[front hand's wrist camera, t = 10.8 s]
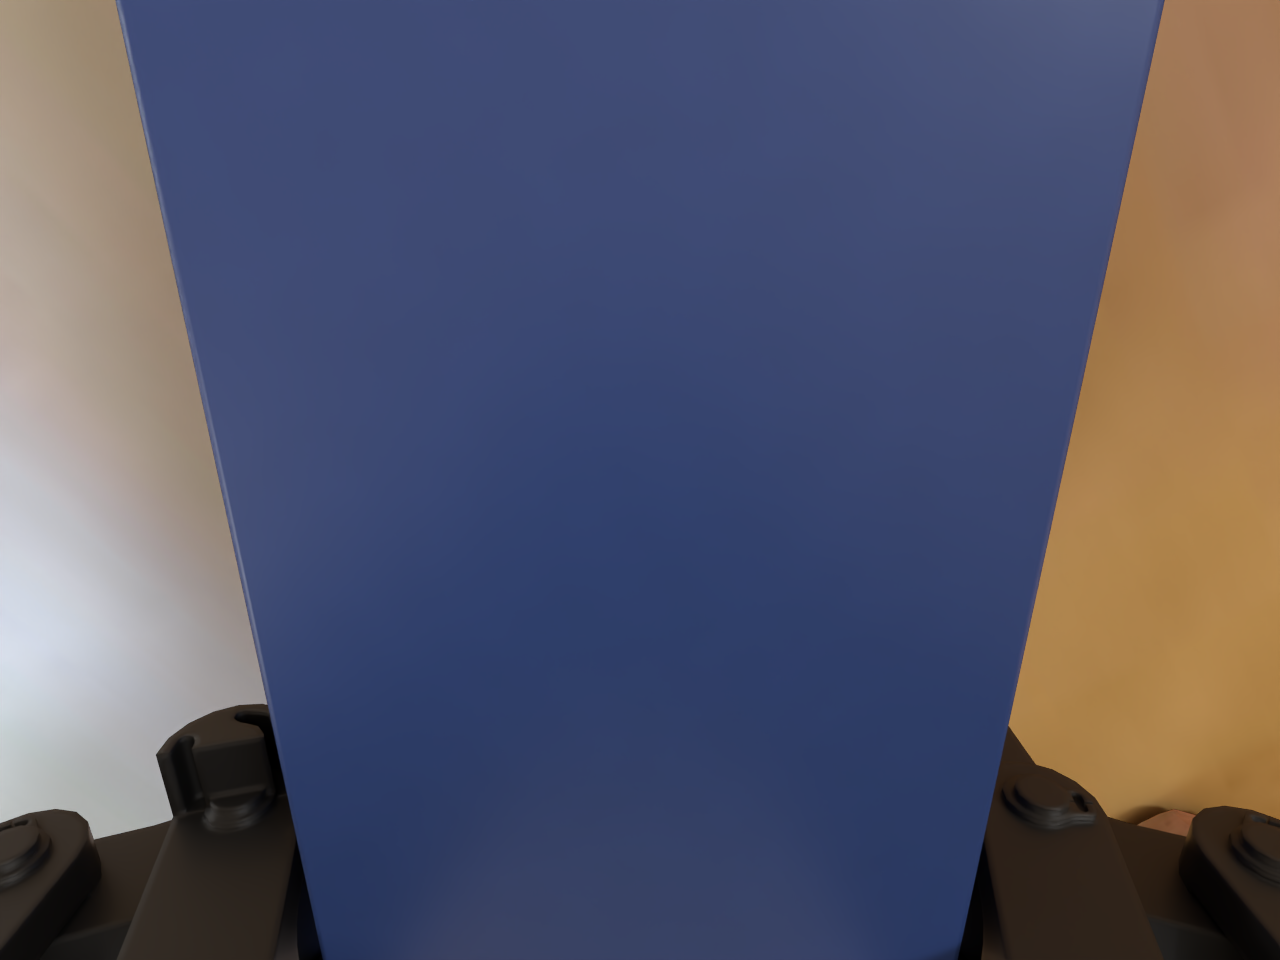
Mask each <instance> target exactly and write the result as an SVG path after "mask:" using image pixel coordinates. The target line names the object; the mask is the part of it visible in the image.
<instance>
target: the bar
mask: <svg viewBox="0 0 1280 960" xmlns="http://www.w3.org/2000/svg"><path fill="white" fill-rule="evenodd" d="M1164 1H1165V0H116V5H117V10H118V14H119V19H120V24H121V28H122V33H123V37H124V42H125V47H126V51H127V56H128V61H129V65H130V70H131V74H132V79H133V84H134V88H135V93H136V98H137V102H138V107H139V111H140V116H141V121H142V125H143V130H144V135H145V139H146V144H147V148H148V153H149V158H150V162H151V167H152V172H153V176H154V181H155V185H156V190H157V195H158V199H159V204H160V209H161V213H162V218H163V223H164V227H165V232H166V236H167V241H168V246H169V250H170V255H171V260H172V264H173V269H174V273H175V278H176V283H177V287H178V292H179V297H180V301H181V306H182V310H183V315H184V320H185V324H186V329H187V334H188V338H189V343H190V347H191V352H192V357H193V361H194V366H195V371H196V375H197V380H198V384H199V389H200V394H201V398H202V403H203V408H204V412H205V417H206V421H207V426H208V431H209V435H210V440H211V445H212V449H213V454H214V458H215V463H216V468H217V472H218V477H219V482H220V486H221V491H222V495H223V500H224V505H225V509H226V514H227V519H228V523H229V528H230V532H231V537H232V542H233V546H234V551H235V556H236V560H237V565H238V569H239V574H240V579H241V583H242V588H243V593H244V597H245V602H246V606H247V611H248V616H249V620H250V625H251V630H252V634H253V639H254V643H255V648H256V653H257V657H258V662H259V667H260V671H261V676H262V680H263V685H264V690H265V694H266V699H267V704H268V708H269V713H270V717H271V722H272V727H273V731H274V736H275V741H276V745H277V750H278V754H279V759H280V764H281V768H282V773H283V778H284V782H285V787H286V792H287V796H288V801H289V805H290V810H291V815H292V819H293V824H294V829H295V833H296V838H297V842H298V847H299V852H300V856H301V861H302V866H303V870H304V875H305V879H306V884H307V889H308V893H309V898H310V903H311V907H312V912H313V916H314V921H315V926H316V930H317V935H318V940H319V944H320V949H321V953H322V958H323V960H958V956H959V951H960V946H961V942H962V937H963V932H964V928H965V923H966V919H967V914H968V909H969V905H970V900H971V895H972V891H973V886H974V882H975V877H976V872H977V868H978V863H979V858H980V854H981V849H982V844H983V840H984V835H985V831H986V826H987V821H988V817H989V812H990V807H991V803H992V798H993V793H994V789H995V784H996V780H997V775H998V770H999V766H1000V761H1001V756H1002V752H1003V747H1004V742H1005V738H1006V733H1007V729H1008V724H1009V719H1010V715H1011V710H1012V705H1013V701H1014V696H1015V691H1016V687H1017V682H1018V678H1019V673H1020V668H1021V664H1022V659H1023V654H1024V650H1025V645H1026V640H1027V636H1028V631H1029V627H1030V622H1031V617H1032V613H1033V608H1034V603H1035V599H1036V594H1037V589H1038V585H1039V580H1040V576H1041V571H1042V566H1043V562H1044V557H1045V552H1046V548H1047V543H1048V538H1049V534H1050V529H1051V525H1052V520H1053V515H1054V511H1055V506H1056V501H1057V497H1058V492H1059V488H1060V483H1061V478H1062V474H1063V469H1064V464H1065V460H1066V455H1067V450H1068V446H1069V441H1070V437H1071V432H1072V427H1073V423H1074V418H1075V413H1076V409H1077V404H1078V399H1079V395H1080V390H1081V386H1082V381H1083V376H1084V372H1085V367H1086V362H1087V358H1088V353H1089V348H1090V344H1091V339H1092V335H1093V330H1094V325H1095V321H1096V316H1097V311H1098V307H1099V302H1100V297H1101V293H1102V288H1103V284H1104V279H1105V274H1106V270H1107V265H1108V260H1109V256H1110V251H1111V246H1112V242H1113V237H1114V233H1115V228H1116V223H1117V219H1118V214H1119V209H1120V205H1121V200H1122V195H1123V191H1124V186H1125V182H1126V177H1127V172H1128V168H1129V163H1130V158H1131V154H1132V149H1133V144H1134V140H1135V135H1136V131H1137V126H1138V121H1139V117H1140V112H1141V107H1142V103H1143V98H1144V94H1145V89H1146V84H1147V80H1148V75H1149V70H1150V66H1151V61H1152V56H1153V52H1154V47H1155V43H1156V38H1157V33H1158V29H1159V24H1160V19H1161V15H1162V10H1163V5H1164Z"/></svg>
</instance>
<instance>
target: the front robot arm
mask: <svg viewBox="0 0 1280 960" xmlns="http://www.w3.org/2000/svg"><path fill="white" fill-rule="evenodd" d="M156 757H157V760H158V764H159V767H160V771H161V774H162V778H163V781H164V785H165V788H166V792H167V796H168V799H169V803H170V806H171V810H172V813H173V819H172V820H171V821H167V822H164V823H161V824H157V825H154V826H150V827H146V828H142V829H137V830H133V831H129V832H125V833H120V834H116V835H112V836H108V837H103V838H99V839H95V840H94V839H93V836H92V833H91V830H90V827H89V824H88V821H86V820H85V819H84V818H83V817H82V816H80V815H79V814H78V813H77V812H73V811H66V810H59V809H53V810H47V811H40V812H34V813H28V814H25V815H22V816H20V817H17V818H14V819H11V820H8V821H6V822H3V823H0V960H323V958H322V953H321V949H320V944H319V940H318V935H317V930H316V926H315V921H314V916H313V912H312V907H311V903H310V898H309V893H308V889H307V884H306V879H305V875H304V870H303V866H302V861H301V856H300V852H299V847H298V842H297V838H296V833H295V829H294V824H293V819H292V815H291V810H290V805H289V801H288V796H287V792H286V787H285V782H284V778H283V773H282V768H281V764H280V759H279V754H278V750H277V745H276V741H275V736H274V731H273V727H272V722H271V717H270V713H269V708H268V705H265V704H252V705H238V706H234V707H230V708H226V709H222V710H219V711H215V712H212V713H210V714H208V715H206V716H203V717H201V718H199V719H197V720H195V721H193V722H190V723H189V724H187V725H186V726H185V727H183V728H182V729H180V730H179V731H178V732H176V733H175V734H174V735H172V736H171V737H170V738H168V740H167V741H166V742H165V744H164V745H163V746H162V748H161V749H160V750H159V751H158V753H157V754H156ZM958 960H1280V820H1279V819H1276V818H1273V817H1271V816H1267V815H1265V814H1262V813H1259V812H1256V811H1253V810H1249V809H1242V808H1236V807H1229V806H1220V807H1213V808H1205V809H1203V810H1202V811H1201V812H1200V813H1198V814H1197V815H1196V816H1195V817H1194V818H1193V819H1192V822H1191V825H1190V828H1189V831H1188V834H1187V837H1186V836H1182V835H1177V834H1173V833H1169V832H1164V831H1160V830H1156V829H1152V828H1147V827H1143V826H1139V825H1134V824H1130V823H1126V822H1123V821H1119V820H1116V819H1113V818H1110V817H1107V815H1106V814H1105V812H1104V811H1103V809H1102V808H1101V806H1100V805H1099V803H1098V802H1097V800H1096V799H1095V797H1093V796H1092V795H1091V794H1090V793H1089V792H1087V791H1086V790H1085V789H1084V788H1083V787H1081V786H1080V785H1079V784H1078V783H1077V782H1075V781H1073V780H1071V779H1070V778H1068V777H1066V776H1064V775H1062V774H1060V773H1058V772H1056V771H1054V770H1052V769H1049V768H1045V767H1042V766H1039V765H1036V764H1035V763H1034V761H1033V760H1032V759H1031V757H1030V756H1029V754H1028V753H1027V752H1026V750H1025V749H1024V747H1023V746H1022V745H1021V743H1020V742H1019V740H1018V739H1017V737H1016V736H1015V735H1014V733H1013V732H1012V730H1011V729H1010V728H1009V726H1008V729H1007V733H1006V738H1005V742H1004V747H1003V752H1002V756H1001V761H1000V766H999V770H998V775H997V780H996V784H995V789H994V793H993V798H992V803H991V807H990V812H989V817H988V821H987V826H986V831H985V835H984V840H983V844H982V849H981V854H980V858H979V863H978V868H977V872H976V877H975V882H974V886H973V891H972V895H971V900H970V905H969V909H968V914H967V919H966V923H965V928H964V932H963V937H962V942H961V946H960V951H959V956H958Z"/></svg>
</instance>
